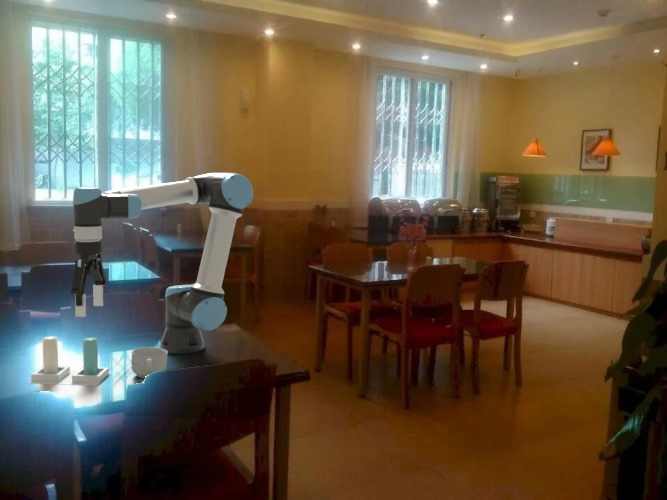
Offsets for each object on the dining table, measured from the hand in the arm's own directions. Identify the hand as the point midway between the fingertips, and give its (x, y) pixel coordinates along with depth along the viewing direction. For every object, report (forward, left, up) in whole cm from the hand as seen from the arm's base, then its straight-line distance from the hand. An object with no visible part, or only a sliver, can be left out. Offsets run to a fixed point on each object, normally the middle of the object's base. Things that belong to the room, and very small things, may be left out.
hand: (89, 311), depth 183 cm
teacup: (-16, -5, -22) cm, 28 cm away
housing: (+6, 0, -22) cm, 22 cm away
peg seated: (+12, 0, -21) cm, 24 cm away
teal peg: (0, 0, -21) cm, 21 cm away
